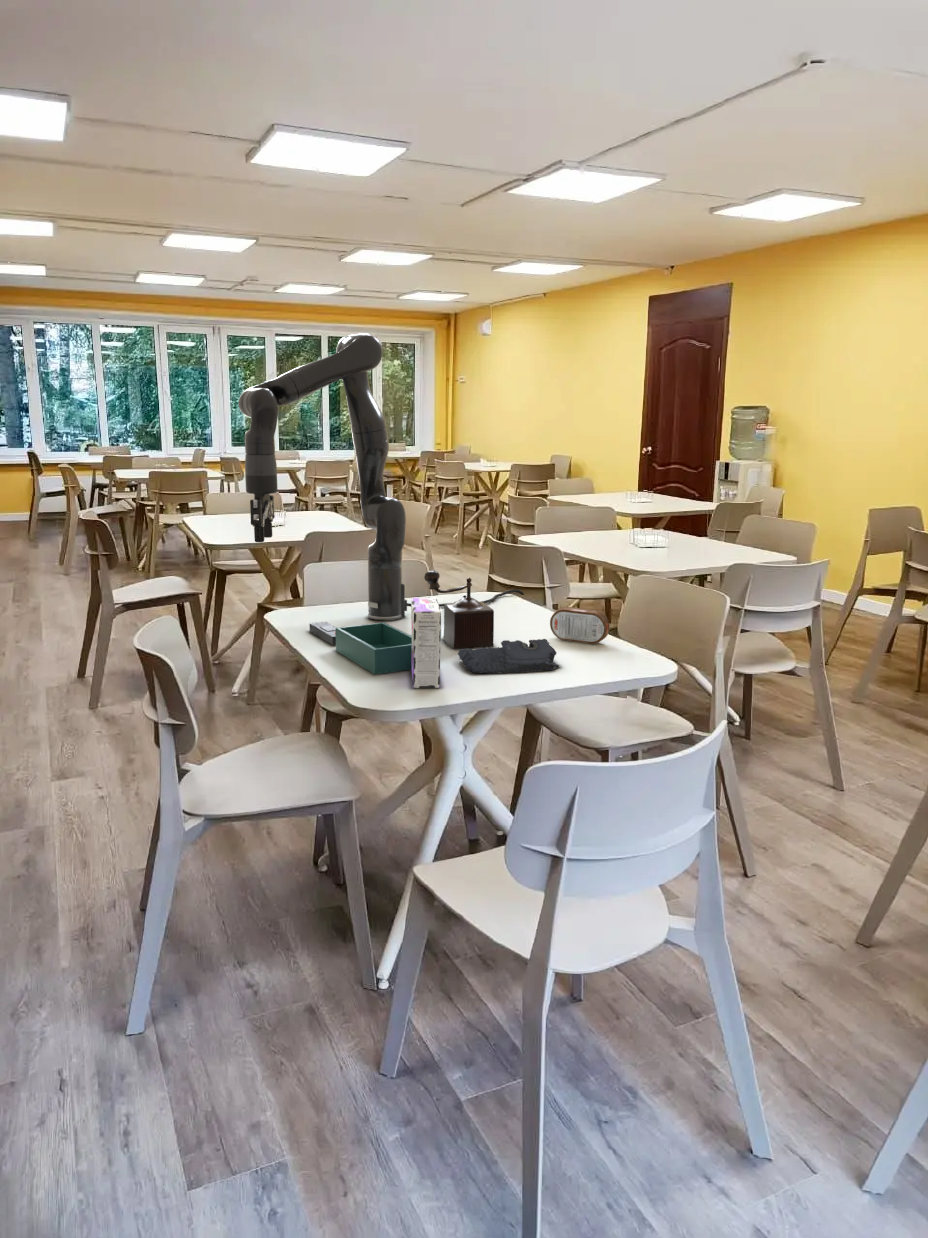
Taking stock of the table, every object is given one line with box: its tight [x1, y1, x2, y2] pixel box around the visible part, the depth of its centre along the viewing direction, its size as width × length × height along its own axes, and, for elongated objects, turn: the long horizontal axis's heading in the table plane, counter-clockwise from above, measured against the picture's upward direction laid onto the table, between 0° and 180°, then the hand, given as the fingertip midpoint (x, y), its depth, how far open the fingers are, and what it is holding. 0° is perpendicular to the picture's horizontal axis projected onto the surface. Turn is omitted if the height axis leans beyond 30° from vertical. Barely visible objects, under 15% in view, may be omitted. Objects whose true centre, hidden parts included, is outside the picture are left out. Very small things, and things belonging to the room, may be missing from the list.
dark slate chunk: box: [457, 638, 560, 675], centre depth 201 cm, size 15×22×5 cm
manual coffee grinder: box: [423, 569, 495, 650], centre depth 217 cm, size 16×11×18 cm
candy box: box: [410, 597, 442, 689], centre depth 188 cm, size 14×6×16 cm, turn 5°
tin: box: [549, 606, 611, 645], centre depth 222 cm, size 15×3×8 cm, turn 65°
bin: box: [335, 621, 412, 675], centre depth 204 cm, size 13×23×6 cm, turn 30°
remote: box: [309, 621, 337, 646], centre depth 223 cm, size 4×16×2 cm, turn 30°
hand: (263, 539), depth 218 cm, fingers open, 8 cm apart
